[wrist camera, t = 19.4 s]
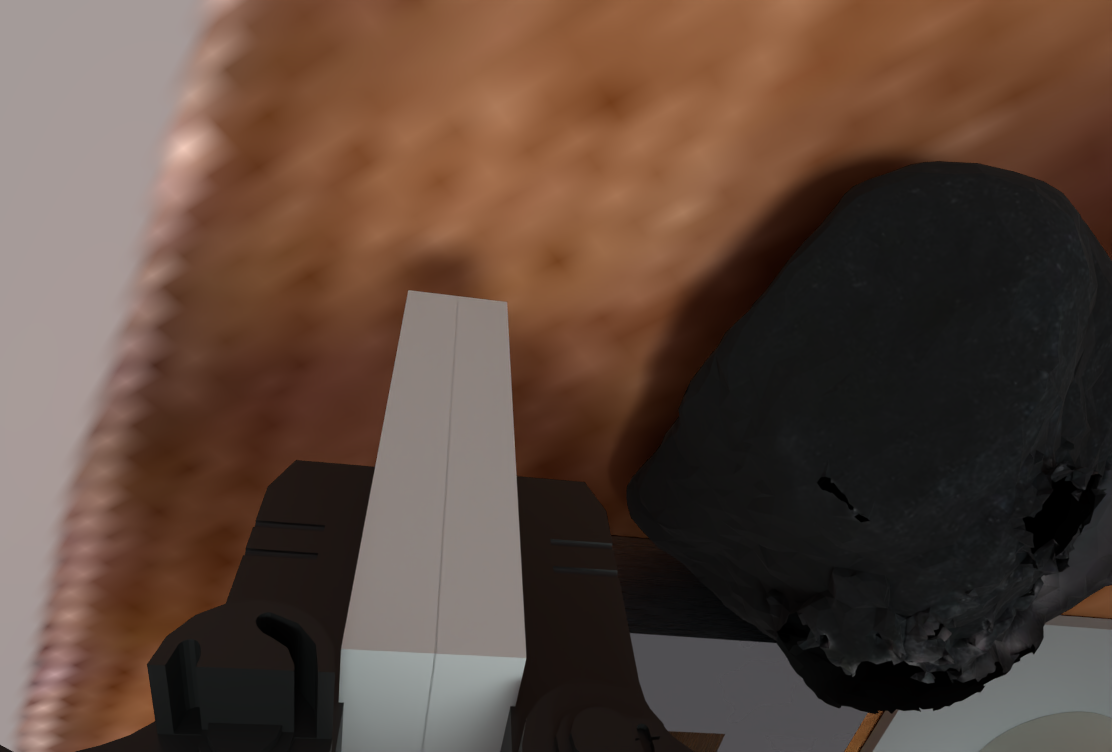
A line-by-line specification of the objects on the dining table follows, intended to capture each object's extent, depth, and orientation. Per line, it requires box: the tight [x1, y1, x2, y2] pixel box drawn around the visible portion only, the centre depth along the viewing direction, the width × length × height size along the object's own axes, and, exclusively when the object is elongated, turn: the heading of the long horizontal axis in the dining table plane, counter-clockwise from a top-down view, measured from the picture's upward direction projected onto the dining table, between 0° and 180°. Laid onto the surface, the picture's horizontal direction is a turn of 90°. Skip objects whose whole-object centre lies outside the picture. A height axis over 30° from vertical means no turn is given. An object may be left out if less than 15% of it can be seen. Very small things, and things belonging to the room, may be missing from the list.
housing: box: [611, 536, 868, 752], centre depth 21 cm, size 13×13×3 cm
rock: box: [627, 161, 1112, 714], centre depth 16 cm, size 9×10×10 cm
